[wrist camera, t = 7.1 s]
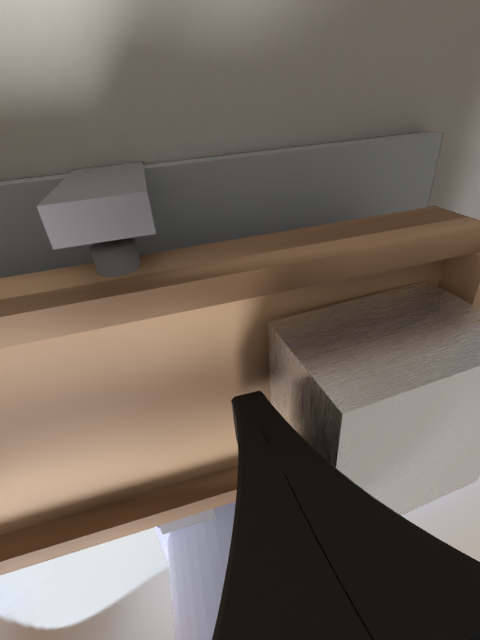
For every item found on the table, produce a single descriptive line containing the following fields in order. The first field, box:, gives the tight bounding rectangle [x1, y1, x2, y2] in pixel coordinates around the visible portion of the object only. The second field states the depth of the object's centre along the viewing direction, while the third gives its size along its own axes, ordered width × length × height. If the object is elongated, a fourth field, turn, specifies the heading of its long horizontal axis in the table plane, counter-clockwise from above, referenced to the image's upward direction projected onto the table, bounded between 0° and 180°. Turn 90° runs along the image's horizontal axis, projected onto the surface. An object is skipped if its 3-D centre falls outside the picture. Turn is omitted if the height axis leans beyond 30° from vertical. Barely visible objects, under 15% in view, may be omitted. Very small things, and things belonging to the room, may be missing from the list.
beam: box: [0, 206, 480, 575], centre depth 12 cm, size 11×22×3 cm, turn 94°
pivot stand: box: [0, 132, 443, 534], centre depth 14 cm, size 14×26×6 cm, turn 94°
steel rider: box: [268, 281, 480, 515], centre depth 11 cm, size 6×6×4 cm
